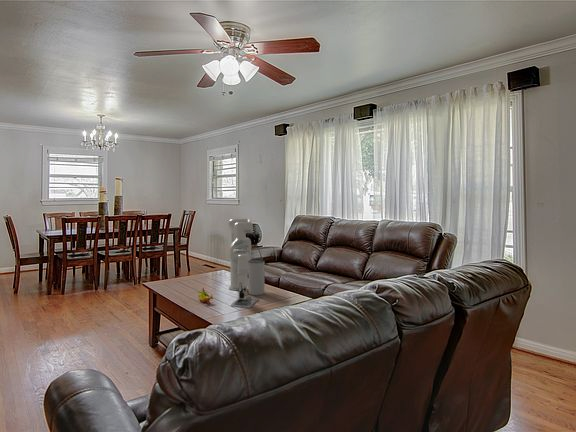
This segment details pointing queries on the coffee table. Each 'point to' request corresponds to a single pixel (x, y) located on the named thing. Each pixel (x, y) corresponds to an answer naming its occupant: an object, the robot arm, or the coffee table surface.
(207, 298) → the yellow toy car
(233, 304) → the carrier plate
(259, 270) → the cylinder vase
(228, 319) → the coffee table surface
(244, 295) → the block
